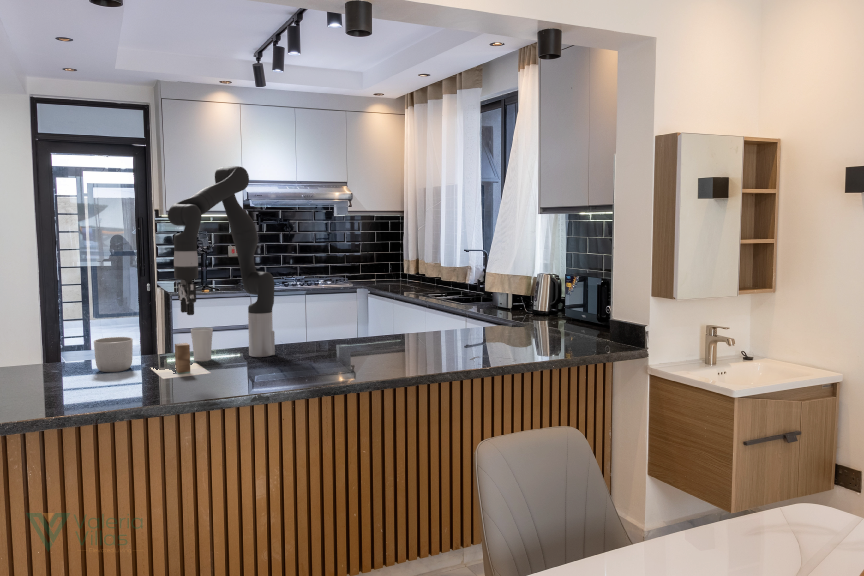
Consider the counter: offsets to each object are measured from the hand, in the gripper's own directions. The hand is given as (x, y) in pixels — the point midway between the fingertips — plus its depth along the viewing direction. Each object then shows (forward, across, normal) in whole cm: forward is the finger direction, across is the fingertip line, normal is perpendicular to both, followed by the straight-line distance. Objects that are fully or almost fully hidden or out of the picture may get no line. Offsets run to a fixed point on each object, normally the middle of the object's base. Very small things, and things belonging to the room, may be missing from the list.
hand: (187, 313), depth 223 cm
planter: (+22, +27, +19) cm, 40 cm away
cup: (+22, +28, -12) cm, 38 cm away
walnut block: (+22, +9, 0) cm, 24 cm away
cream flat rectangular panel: (+22, +13, 0) cm, 25 cm away
